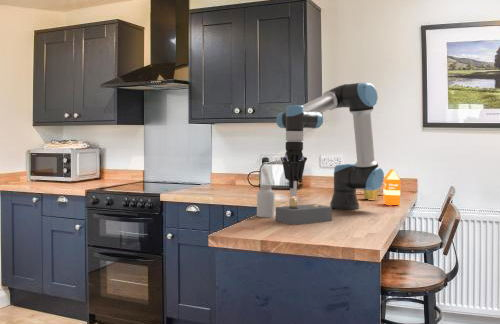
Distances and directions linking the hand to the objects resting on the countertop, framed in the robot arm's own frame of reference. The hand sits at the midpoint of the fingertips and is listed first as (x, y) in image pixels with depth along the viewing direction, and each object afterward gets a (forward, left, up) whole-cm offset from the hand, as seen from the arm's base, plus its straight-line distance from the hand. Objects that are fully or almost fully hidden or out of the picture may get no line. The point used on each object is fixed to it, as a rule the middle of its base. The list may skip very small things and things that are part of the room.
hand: (293, 195), depth 210 cm
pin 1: (0, 0, -7) cm, 7 cm away
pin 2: (-12, 0, -11) cm, 16 cm away
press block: (-6, 0, -11) cm, 13 cm away
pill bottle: (+2, -18, -12) cm, 22 cm away
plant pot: (-90, -39, -12) cm, 99 cm away
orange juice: (-84, -18, -12) cm, 87 cm away
